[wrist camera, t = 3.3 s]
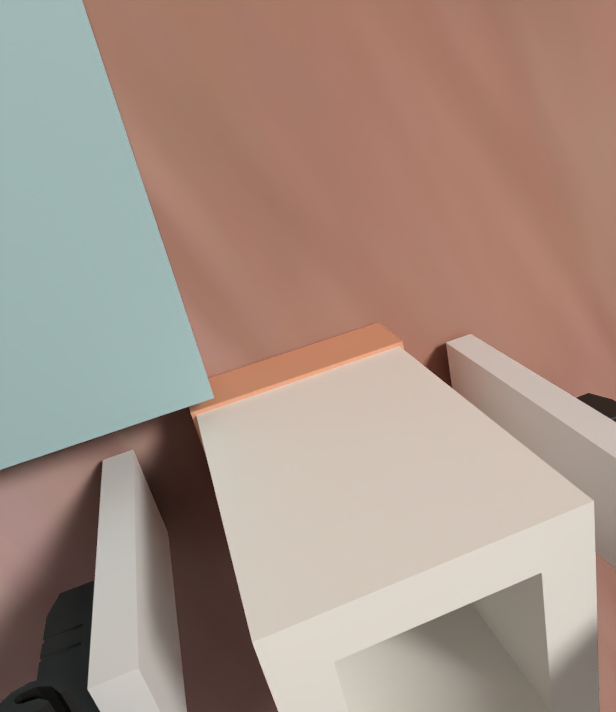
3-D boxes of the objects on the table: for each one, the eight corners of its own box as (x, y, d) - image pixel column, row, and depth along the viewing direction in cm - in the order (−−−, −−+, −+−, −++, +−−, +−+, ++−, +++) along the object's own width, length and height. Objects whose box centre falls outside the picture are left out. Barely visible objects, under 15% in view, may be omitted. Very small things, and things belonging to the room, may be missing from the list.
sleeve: (408, 481, 17) (604, 727, 10) (240, 545, 17) (328, 863, 9) (378, 322, 15) (599, 492, 8) (184, 386, 14) (242, 639, 7)
